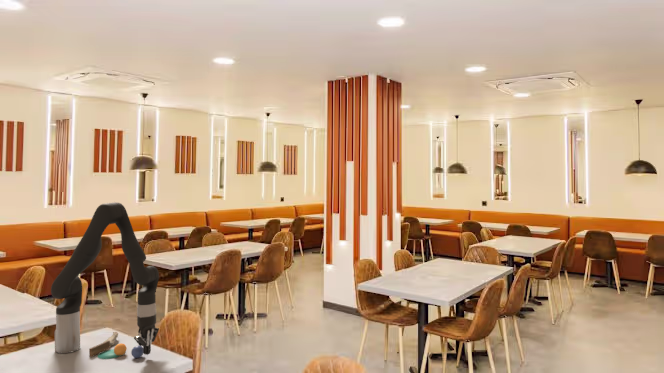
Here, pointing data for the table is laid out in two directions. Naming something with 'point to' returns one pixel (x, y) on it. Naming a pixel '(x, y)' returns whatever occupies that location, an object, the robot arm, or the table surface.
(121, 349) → the orange ball
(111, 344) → the coral
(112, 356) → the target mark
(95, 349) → the rail
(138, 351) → the blue ball
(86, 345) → the table surface
